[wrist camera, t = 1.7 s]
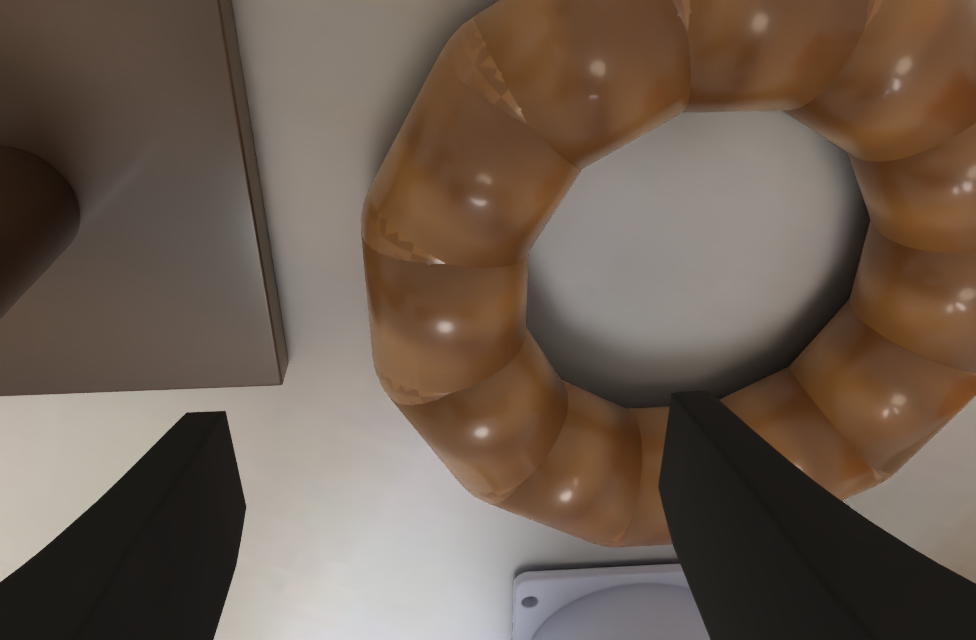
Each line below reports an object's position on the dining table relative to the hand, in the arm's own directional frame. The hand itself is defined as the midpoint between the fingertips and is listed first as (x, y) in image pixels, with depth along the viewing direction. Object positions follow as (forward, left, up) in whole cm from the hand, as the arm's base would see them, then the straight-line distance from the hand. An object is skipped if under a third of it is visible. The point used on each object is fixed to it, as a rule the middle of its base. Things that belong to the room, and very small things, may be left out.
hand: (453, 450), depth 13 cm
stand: (+2, +9, -7) cm, 12 cm away
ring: (0, -6, -6) cm, 8 cm away
